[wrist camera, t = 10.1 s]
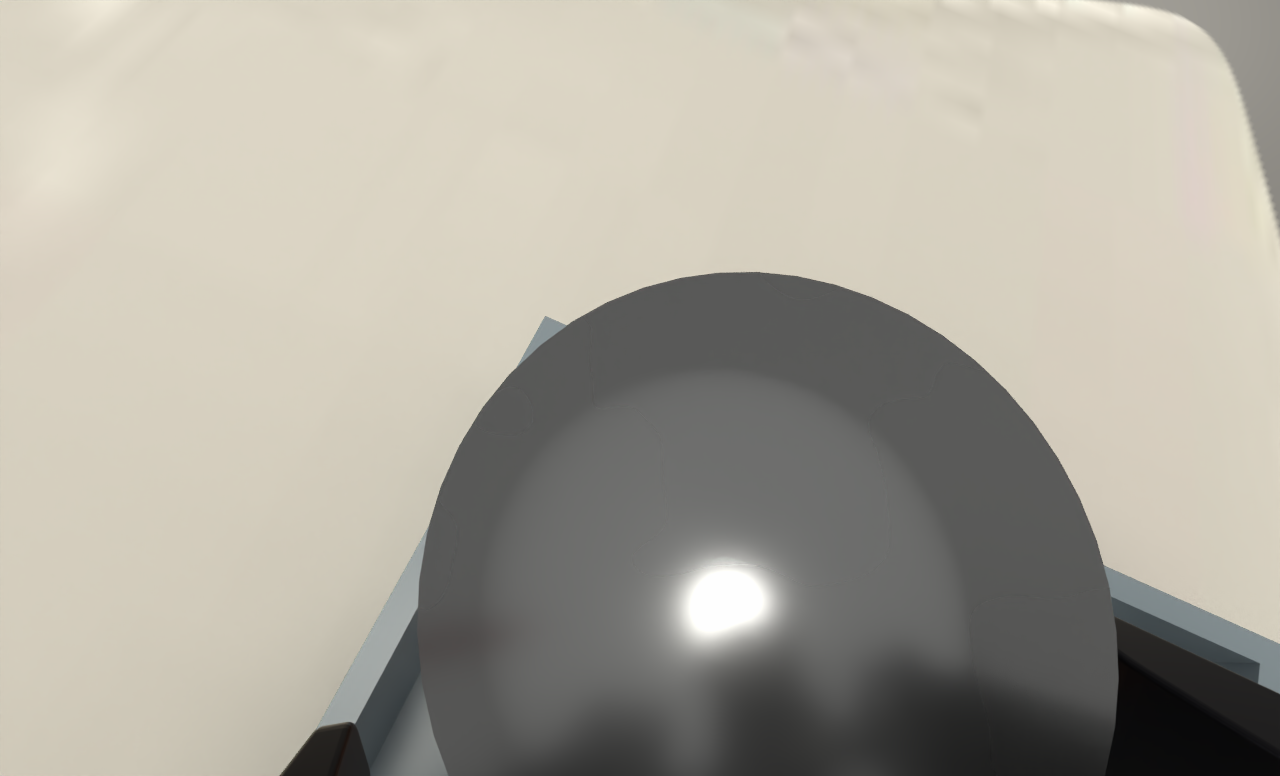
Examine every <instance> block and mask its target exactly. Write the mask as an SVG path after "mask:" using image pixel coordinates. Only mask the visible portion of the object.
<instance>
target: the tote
mask: <svg viewBox="0 0 1280 776" xmlns="http://www.w3.org/2000/svg"><path fill="white" fill-rule="evenodd" d="M566 326H567V325H564V324H562V323H560V322H558V321H555V320H553V319H551V318H549V317H546V316H545V317H544V319H543V321H542V323H541V325H540V326H539V328H538V330H537V332H536V334H535V335H534V337H533V339H532V341H531V343H530V344H529V346H528V348H527V350H526V352H525V353H524V355H523V357H522V359H521V361H520V362H519V364H518V366H519V365H520V364H521V363H522V362H523V361H524V360H525V359H526V358H527V357H528V356H529V355H530V354H532V353H533V352H534V351H535V350H536V349H537V348H538V347H539V346H540V345H541V344H543V343H544V342H545V341H547V340H548V339H549V338H551V337H552V336H554V335H555V334H556V333H558V332H559V331H560V330H562V329H563V328H564V327H566ZM518 366H517V367H518ZM428 528H429V527H428ZM428 528H427V530H426V532H425V534H424V536H423V537H422V539H421V541H420V543H419V545H418V546H417V548H416V550H415V552H414V554H413V555H412V557H411V559H410V561H409V563H408V564H407V566H406V568H405V570H404V572H403V573H402V575H401V577H400V579H399V581H398V582H397V584H396V586H395V588H394V590H393V592H392V593H391V595H390V597H389V599H388V601H387V602H386V604H385V606H384V608H383V610H382V611H381V613H380V615H379V617H378V619H377V620H376V622H375V624H374V626H373V628H372V629H371V631H370V633H369V635H368V637H367V638H366V640H365V642H364V644H363V646H362V647H361V649H360V651H359V653H358V655H357V656H356V658H355V660H354V662H353V664H352V665H351V667H350V669H349V671H348V673H347V674H346V676H345V678H344V680H343V682H342V683H341V685H340V687H339V689H338V691H337V692H336V694H335V696H334V698H333V700H332V702H331V703H330V705H329V707H328V709H327V711H326V712H325V714H324V716H323V718H322V720H321V721H320V723H319V725H318V727H317V729H318V728H319V727H322V726H326V725H331V724H337V723H343V722H353V723H354V724H355V725H356V727H357V729H358V731H359V735H360V738H361V741H362V744H363V748H364V751H365V754H366V758H367V761H368V764H369V768H370V776H448V773H447V771H446V768H445V765H444V762H443V760H442V757H441V754H440V752H439V749H438V746H437V743H436V741H435V738H434V735H433V730H432V726H431V721H430V717H429V713H428V708H427V704H426V699H425V695H424V690H423V686H422V678H421V668H420V657H419V646H418V635H417V622H418V595H419V578H420V572H421V566H422V560H423V554H424V548H425V542H426V536H427V531H428ZM1104 569H1105V572H1106V576H1107V580H1108V583H1109V588H1110V594H1111V600H1112V607H1113V613H1114V616H1115V617H1117V618H1119V619H1121V620H1123V621H1126V622H1128V623H1130V624H1132V625H1134V626H1136V627H1138V628H1140V629H1143V630H1145V631H1147V632H1149V633H1151V634H1153V635H1155V636H1158V637H1160V638H1162V639H1164V640H1166V641H1168V642H1170V643H1173V644H1175V645H1177V646H1179V647H1181V648H1183V649H1185V650H1187V651H1190V652H1192V653H1194V654H1196V655H1198V656H1200V657H1202V658H1205V659H1207V660H1209V661H1211V662H1213V663H1215V664H1217V665H1220V666H1222V667H1224V668H1226V669H1228V670H1230V671H1232V672H1234V673H1237V674H1239V675H1241V676H1243V677H1245V678H1247V679H1249V680H1252V681H1254V682H1256V683H1258V684H1260V685H1262V686H1264V687H1267V688H1269V689H1271V690H1273V691H1275V692H1277V693H1279V694H1280V644H1278V643H1276V642H1274V641H1272V640H1270V639H1267V638H1265V637H1263V636H1261V635H1258V634H1256V633H1254V632H1252V631H1249V630H1247V629H1245V628H1243V627H1240V626H1238V625H1236V624H1234V623H1231V622H1229V621H1227V620H1225V619H1223V618H1220V617H1218V616H1216V615H1214V614H1211V613H1209V612H1207V611H1205V610H1202V609H1200V608H1198V607H1196V606H1193V605H1191V604H1189V603H1187V602H1184V601H1182V600H1180V599H1178V598H1175V597H1173V596H1171V595H1169V594H1167V593H1164V592H1162V591H1160V590H1158V589H1155V588H1153V587H1151V586H1149V585H1146V584H1144V583H1142V582H1140V581H1137V580H1135V579H1133V578H1131V577H1128V576H1126V575H1124V574H1122V573H1120V572H1117V571H1115V570H1113V569H1111V568H1108V567H1106V566H1104ZM317 729H316V730H317Z"/></svg>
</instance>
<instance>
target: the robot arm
mask: <svg viewBox="0 0 1280 776" xmlns="http://www.w3.org/2000/svg"><path fill="white" fill-rule="evenodd" d="M1114 619H1115V625H1116V631H1117V654H1118V676H1119V681H1118V694H1117V706H1116V719H1115V729H1114V734H1113V739H1112V744H1111V749H1110V753H1109V758H1108V763H1107V768H1106V773H1105V776H1280V694H1279V693H1277V692H1275V691H1273V690H1271V689H1269V688H1267V687H1264V686H1262V685H1260V684H1258V683H1256V682H1254V681H1252V680H1249V679H1247V678H1245V677H1243V676H1241V675H1239V674H1237V673H1234V672H1232V671H1230V670H1228V669H1226V668H1224V667H1222V666H1220V665H1217V664H1215V663H1213V662H1211V661H1209V660H1207V659H1205V658H1202V657H1200V656H1198V655H1196V654H1194V653H1192V652H1190V651H1187V650H1185V649H1183V648H1181V647H1179V646H1177V645H1175V644H1173V643H1170V642H1168V641H1166V640H1164V639H1162V638H1160V637H1158V636H1155V635H1153V634H1151V633H1149V632H1147V631H1145V630H1143V629H1140V628H1138V627H1136V626H1134V625H1132V624H1130V623H1128V622H1126V621H1123V620H1121V619H1119V618H1117V617H1115V616H1114ZM280 776H370V768H369V764H368V761H367V758H366V754H365V751H364V748H363V744H362V741H361V738H360V735H359V731H358V729H357V727H356V725H355V724H354V723H353V722H343V723H337V724H331V725H326V726H322V727H319V728H318V729H317V730H315V731H314V732H313V733H312V735H311V736H310V737H309V738H308V740H307V741H306V742H305V744H304V745H303V746H302V748H301V749H300V750H299V751H298V753H297V754H296V755H295V757H294V758H293V759H292V761H291V762H290V763H289V764H288V766H287V767H286V768H285V770H284V771H283V772H282V774H281V775H280Z"/></svg>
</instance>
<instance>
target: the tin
mask: <svg viewBox="0 0 1280 776" xmlns="http://www.w3.org/2000/svg"><path fill="white" fill-rule="evenodd" d="M417 635H418V646H419V657H420V668H421V678H422V686H423V690H424V695H425V699H426V704H427V708H428V713H429V717H430V721H431V726H432V730H433V735H434V738H435V741H436V743H437V746H438V749H439V752H440V754H441V757H442V760H443V762H444V765H445V768H446V771H447V773H448V776H1105V773H1106V768H1107V763H1108V758H1109V753H1110V749H1111V744H1112V739H1113V734H1114V729H1115V719H1116V706H1117V694H1118V681H1119V676H1118V654H1117V631H1116V625H1115V619H1114V613H1113V607H1112V600H1111V594H1110V588H1109V583H1108V580H1107V576H1106V572H1105V569H1104V565H1103V562H1102V558H1101V555H1100V551H1099V548H1098V544H1097V540H1096V538H1095V535H1094V533H1093V530H1092V528H1091V526H1090V523H1089V521H1088V518H1087V516H1086V513H1085V511H1084V508H1083V506H1082V503H1081V501H1080V498H1079V496H1078V495H1077V493H1076V491H1075V489H1074V487H1073V485H1072V483H1071V481H1070V480H1069V478H1068V476H1067V474H1066V472H1065V470H1064V468H1063V467H1062V465H1061V463H1060V461H1059V459H1058V458H1057V456H1056V455H1055V453H1054V452H1053V450H1052V449H1051V447H1050V446H1049V444H1048V443H1047V441H1046V440H1045V438H1044V437H1043V436H1042V434H1041V433H1040V431H1039V430H1038V428H1037V427H1036V425H1035V424H1034V422H1033V421H1032V420H1031V419H1030V418H1029V416H1028V415H1027V414H1026V413H1025V412H1024V411H1023V409H1022V408H1021V407H1020V406H1019V405H1018V403H1017V402H1016V401H1015V400H1014V399H1013V398H1012V396H1011V395H1010V394H1009V393H1008V392H1007V391H1006V389H1005V388H1003V387H1002V386H1001V385H1000V384H999V383H998V382H997V381H996V380H995V379H994V378H993V377H992V376H991V375H990V374H989V373H988V372H987V371H986V370H985V369H984V368H982V367H981V366H980V365H979V364H978V363H977V362H976V361H975V360H974V359H972V358H971V357H970V356H969V355H967V354H966V353H965V352H963V351H962V350H961V349H959V348H958V347H957V346H956V345H954V344H953V343H952V342H950V341H949V340H948V339H946V338H945V337H944V336H943V335H941V334H939V333H938V332H936V331H934V330H933V329H931V328H929V327H928V326H926V325H925V324H923V323H921V322H920V321H918V320H916V319H915V318H913V317H911V316H910V315H908V314H906V313H904V312H902V311H900V310H898V309H895V308H893V307H891V306H889V305H887V304H885V303H883V302H881V301H878V300H876V299H874V298H872V297H869V296H866V295H863V294H860V293H858V292H855V291H852V290H849V289H846V288H843V287H840V286H837V285H834V284H829V283H825V282H820V281H816V280H811V279H807V278H802V277H798V276H790V275H780V274H770V273H760V272H741V273H714V274H707V275H699V276H692V277H685V278H679V279H675V280H672V281H668V282H664V283H660V284H656V285H652V286H649V287H645V288H642V289H639V290H637V291H634V292H632V293H629V294H627V295H624V296H622V297H619V298H617V299H614V300H612V301H609V302H607V303H605V304H603V305H602V306H600V307H598V308H596V309H594V310H593V311H591V312H589V313H587V314H585V315H584V316H582V317H580V318H578V319H576V320H575V321H573V322H571V323H570V324H569V325H567V326H566V327H564V328H563V329H562V330H560V331H559V332H558V333H556V334H555V335H554V336H552V337H551V338H549V339H548V340H547V341H545V342H544V343H543V344H541V345H540V346H539V347H538V348H537V349H536V350H535V351H534V352H533V353H532V354H530V355H529V356H528V357H527V358H526V359H525V360H524V361H523V362H522V363H521V364H520V365H519V366H518V367H517V368H516V369H515V370H514V371H513V372H512V373H511V374H510V375H509V376H508V377H507V378H506V379H505V381H504V382H503V383H502V384H501V386H500V387H499V388H498V389H497V391H496V392H495V393H494V394H493V396H492V397H491V398H490V399H489V401H488V402H487V403H486V404H485V405H484V407H483V408H482V410H481V411H480V413H479V414H478V416H477V418H476V419H475V421H474V423H473V424H472V426H471V428H470V429H469V431H468V432H467V434H466V436H465V437H464V439H463V441H462V442H461V444H460V445H459V448H458V450H457V452H456V454H455V457H454V459H453V461H452V463H451V465H450V468H449V470H448V472H447V474H446V477H445V479H444V481H443V483H442V485H441V488H440V491H439V495H438V498H437V501H436V505H435V508H434V511H433V514H432V518H431V521H430V524H429V528H428V531H427V536H426V542H425V548H424V554H423V560H422V566H421V572H420V578H419V595H418V622H417Z"/></svg>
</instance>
